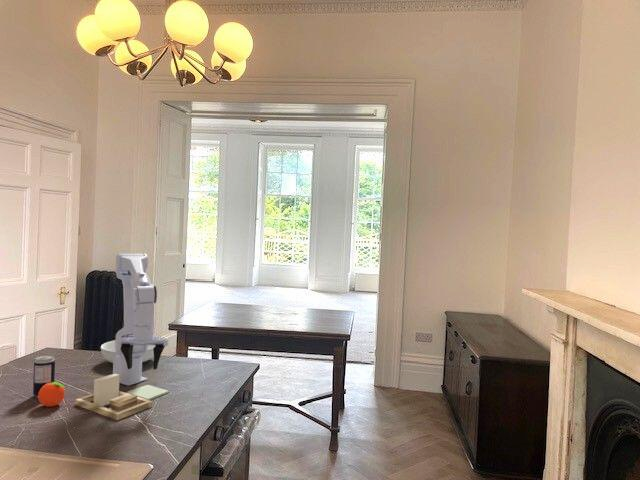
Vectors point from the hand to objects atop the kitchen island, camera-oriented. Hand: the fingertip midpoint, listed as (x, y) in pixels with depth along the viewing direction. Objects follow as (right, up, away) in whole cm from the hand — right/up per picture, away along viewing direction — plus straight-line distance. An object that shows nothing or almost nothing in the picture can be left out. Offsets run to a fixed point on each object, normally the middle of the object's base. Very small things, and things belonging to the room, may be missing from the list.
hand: (142, 368), depth 144 cm
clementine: (-24, -10, -6) cm, 27 cm away
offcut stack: (-3, -11, -6) cm, 13 cm away
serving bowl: (-20, -8, +39) cm, 44 cm away
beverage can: (-31, -9, +2) cm, 33 cm away
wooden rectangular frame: (-7, -10, -4) cm, 13 cm away
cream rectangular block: (-10, -10, -2) cm, 14 cm away
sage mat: (-1, -10, +7) cm, 12 cm away
